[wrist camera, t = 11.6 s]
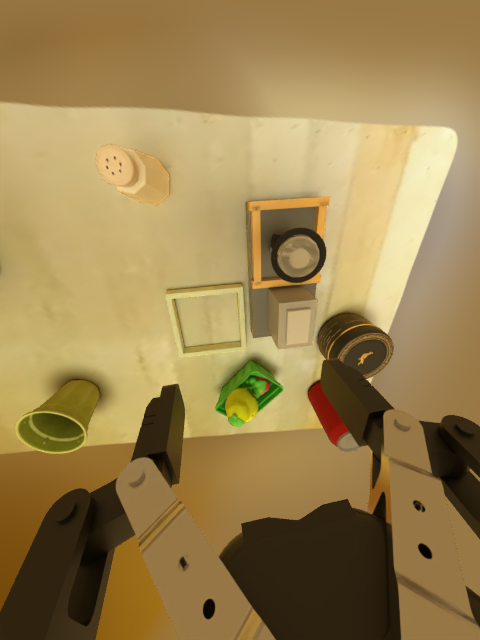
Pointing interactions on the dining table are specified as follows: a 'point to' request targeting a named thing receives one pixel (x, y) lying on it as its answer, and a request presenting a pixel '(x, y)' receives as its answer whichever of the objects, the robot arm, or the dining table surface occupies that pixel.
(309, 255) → the black and tan cylinder
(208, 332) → the dining table surface
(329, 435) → the beverage can
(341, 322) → the jar
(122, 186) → the pepper shaker
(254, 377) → the fruit basket
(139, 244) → the dining table surface
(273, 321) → the gray stepped base block
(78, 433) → the plant pot
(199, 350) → the parts tray
